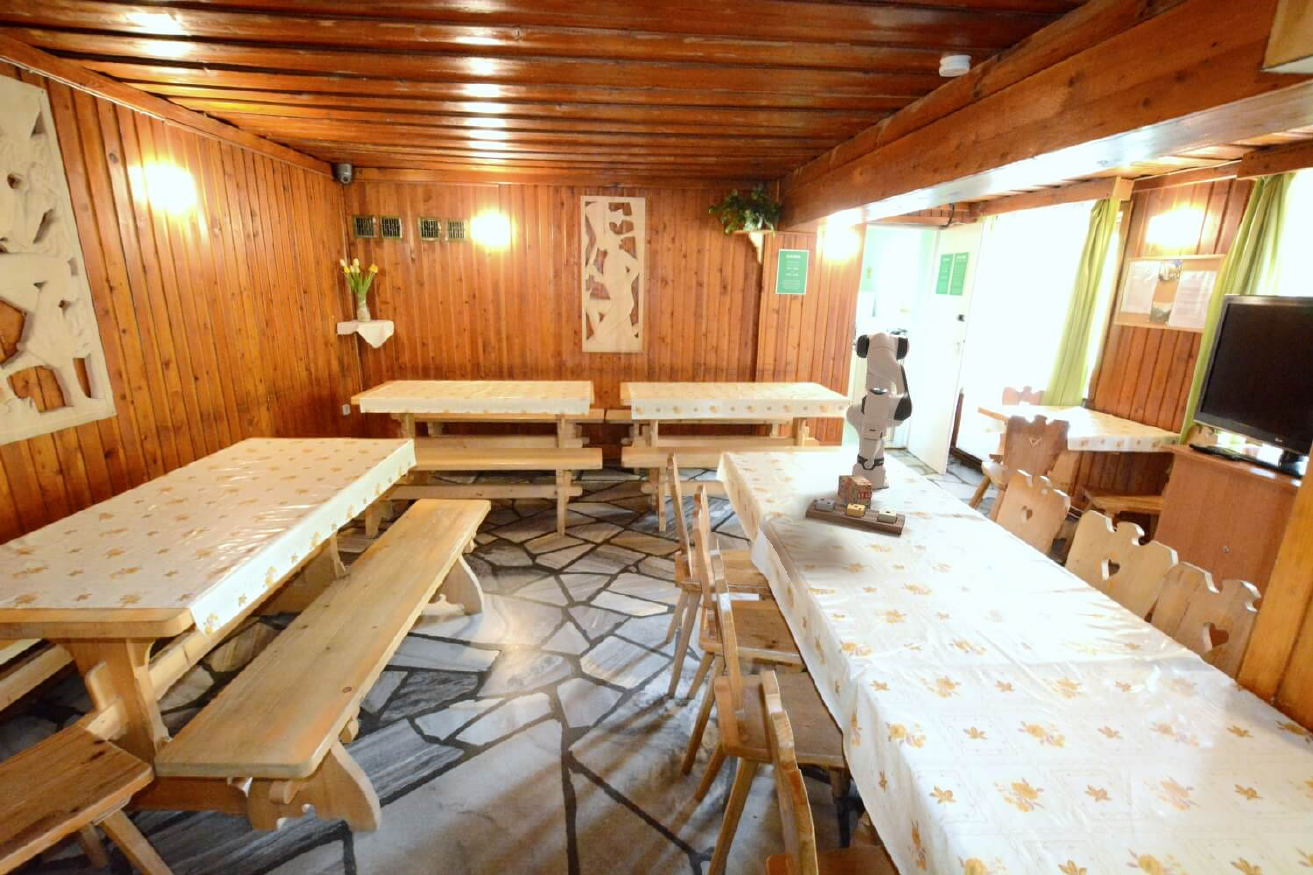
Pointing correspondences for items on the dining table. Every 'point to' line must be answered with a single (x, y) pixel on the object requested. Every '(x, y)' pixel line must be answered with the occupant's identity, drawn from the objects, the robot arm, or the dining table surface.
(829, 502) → the button two
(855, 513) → the button three
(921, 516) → the dining table surface
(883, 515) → the button one
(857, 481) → the stack of blocks
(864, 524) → the console
